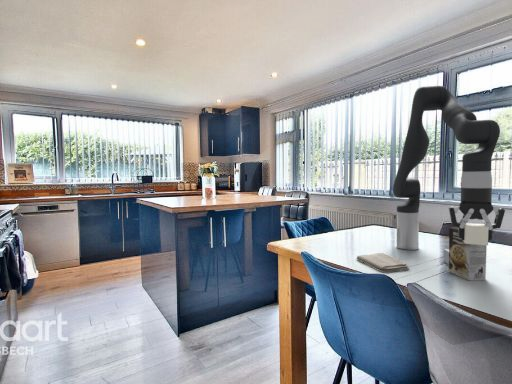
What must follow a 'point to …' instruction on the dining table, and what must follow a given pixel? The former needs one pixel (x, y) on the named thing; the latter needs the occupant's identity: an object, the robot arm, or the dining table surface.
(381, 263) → the washcloth
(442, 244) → the dining table surface
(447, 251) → the slate block
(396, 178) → the robot arm
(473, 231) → the cream cube
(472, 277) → the coffee box
